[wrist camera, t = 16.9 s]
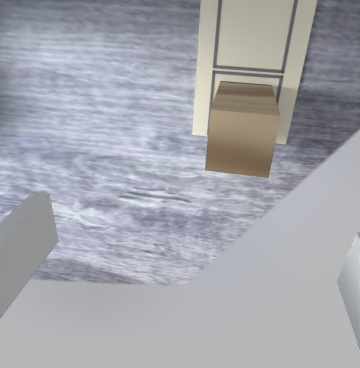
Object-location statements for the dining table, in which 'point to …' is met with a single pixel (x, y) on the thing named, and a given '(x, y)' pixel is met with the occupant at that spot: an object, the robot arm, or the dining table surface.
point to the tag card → (252, 52)
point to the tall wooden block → (242, 129)
